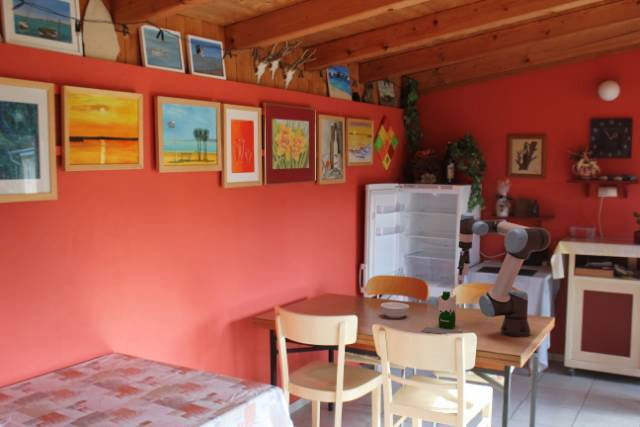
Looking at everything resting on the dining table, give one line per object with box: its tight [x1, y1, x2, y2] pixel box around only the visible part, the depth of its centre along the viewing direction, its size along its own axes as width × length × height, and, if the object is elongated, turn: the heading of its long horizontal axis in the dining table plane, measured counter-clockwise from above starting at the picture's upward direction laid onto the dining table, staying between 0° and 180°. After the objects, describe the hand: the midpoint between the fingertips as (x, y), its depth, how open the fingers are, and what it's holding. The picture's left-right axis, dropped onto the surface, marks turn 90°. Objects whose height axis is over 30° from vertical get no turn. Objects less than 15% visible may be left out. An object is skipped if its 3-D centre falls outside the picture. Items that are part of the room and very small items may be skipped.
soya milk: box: [438, 290, 457, 330], centre depth 350 cm, size 9×9×20 cm
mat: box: [420, 326, 463, 335], centre depth 341 cm, size 20×10×1 cm, turn 63°
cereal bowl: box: [380, 301, 410, 319], centre depth 373 cm, size 17×17×7 cm
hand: (463, 277), depth 359 cm, fingers open, 13 cm apart
